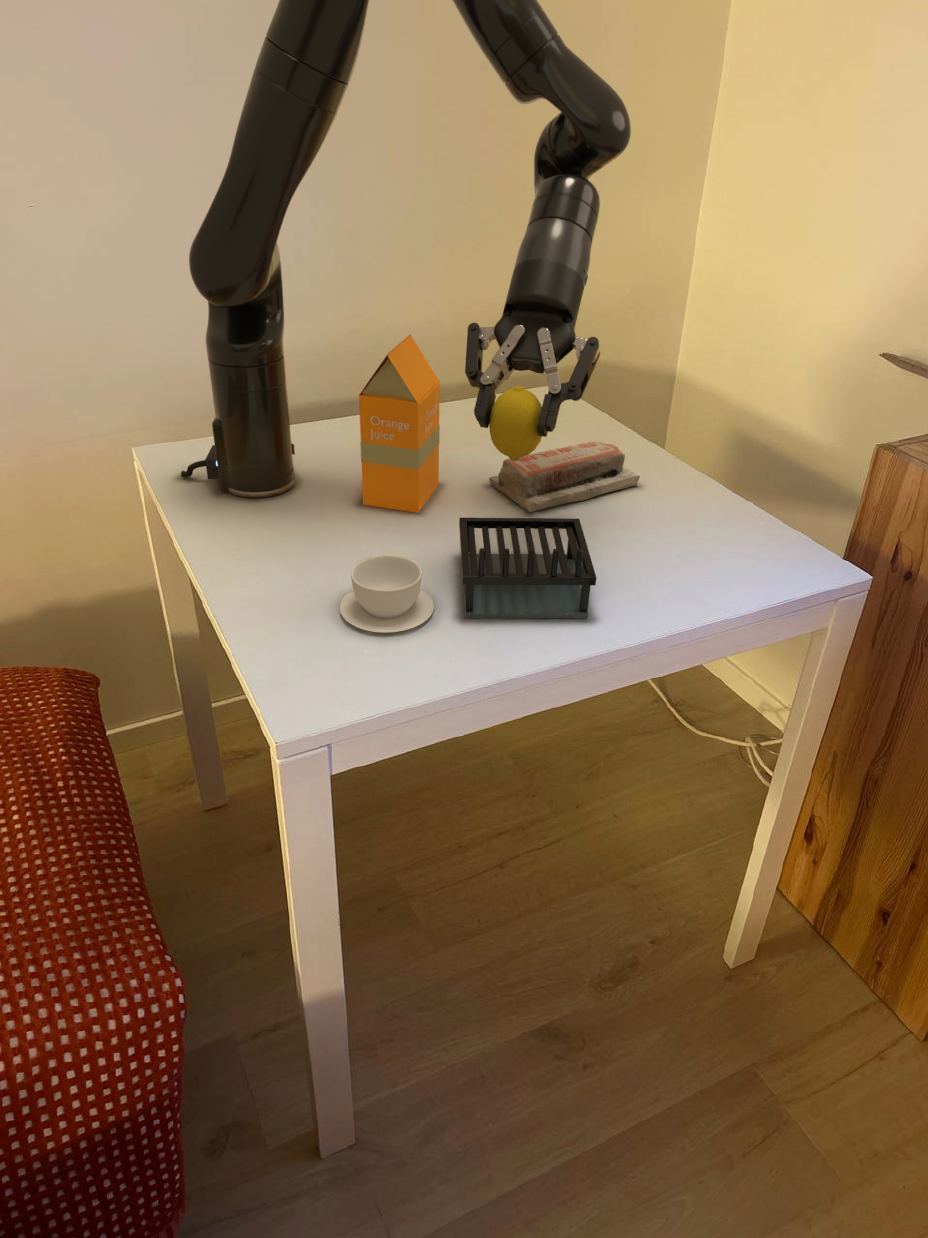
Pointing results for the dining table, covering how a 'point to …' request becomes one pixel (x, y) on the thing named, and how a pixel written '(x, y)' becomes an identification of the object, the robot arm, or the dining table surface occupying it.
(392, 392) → the orange juice
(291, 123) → the robot arm
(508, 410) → the lemon
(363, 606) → the teacup
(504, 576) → the dish rack
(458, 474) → the dining table surface
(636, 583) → the dining table surface
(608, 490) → the packaged product
